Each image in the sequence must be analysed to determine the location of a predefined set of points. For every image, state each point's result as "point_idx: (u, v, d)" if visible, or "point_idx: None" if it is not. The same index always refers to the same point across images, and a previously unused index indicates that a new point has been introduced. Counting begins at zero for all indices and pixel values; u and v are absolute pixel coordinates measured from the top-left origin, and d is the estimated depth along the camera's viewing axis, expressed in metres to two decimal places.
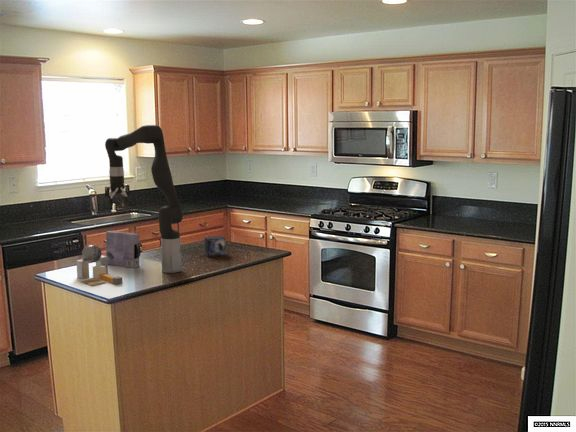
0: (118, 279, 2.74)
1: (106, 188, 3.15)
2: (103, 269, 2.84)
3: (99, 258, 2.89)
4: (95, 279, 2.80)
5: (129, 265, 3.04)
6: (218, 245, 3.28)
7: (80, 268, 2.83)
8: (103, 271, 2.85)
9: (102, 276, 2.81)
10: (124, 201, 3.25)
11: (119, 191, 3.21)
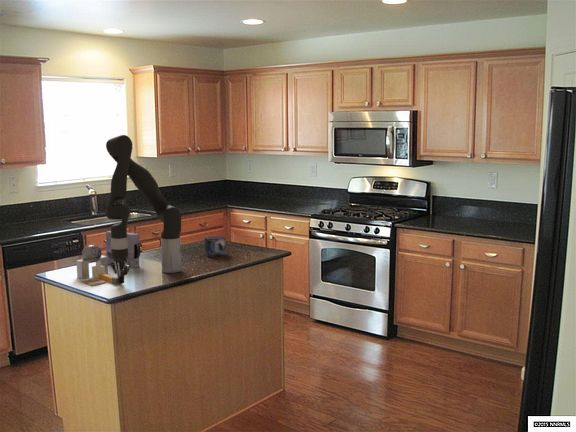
0: (117, 279, 2.74)
1: (128, 268, 2.69)
2: (102, 269, 2.85)
3: (99, 258, 2.89)
4: (95, 279, 2.80)
5: None
6: (218, 245, 3.28)
7: (80, 268, 2.83)
8: (102, 271, 2.85)
9: (101, 276, 2.82)
10: None
11: None
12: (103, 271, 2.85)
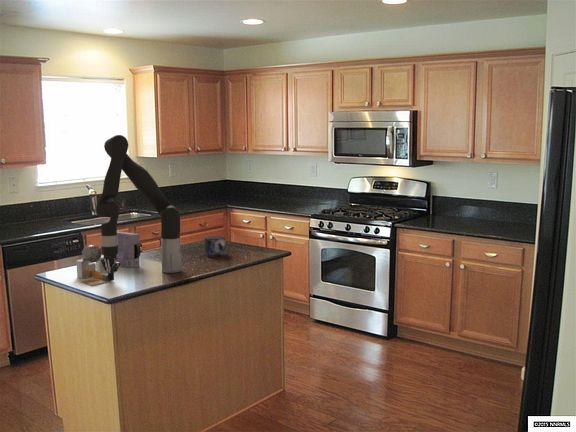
0: (107, 276, 2.79)
1: (118, 265, 2.74)
2: (93, 266, 2.90)
3: (99, 258, 2.89)
4: (95, 279, 2.80)
5: (129, 265, 3.04)
6: (218, 245, 3.28)
7: (80, 268, 2.83)
8: (93, 268, 2.90)
9: (92, 273, 2.87)
10: None
11: None
12: (94, 268, 2.90)
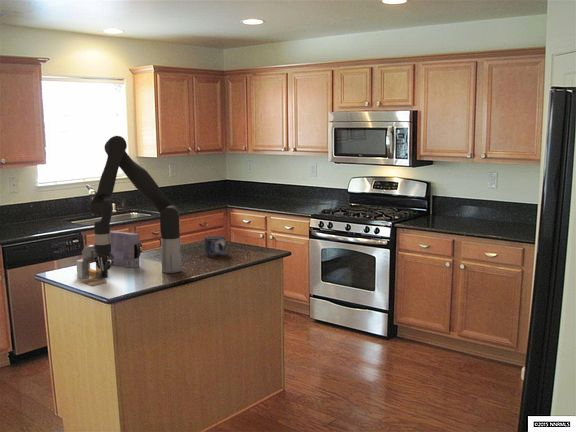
0: (100, 274, 2.83)
1: (110, 263, 2.77)
2: None
3: None
4: (95, 279, 2.80)
5: (129, 265, 3.04)
6: (218, 245, 3.28)
7: (80, 268, 2.83)
8: None
9: None
10: None
11: None
12: None
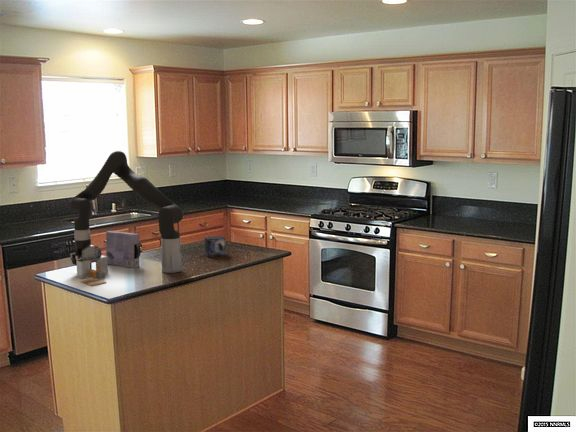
0: (100, 273, 2.83)
1: None
2: None
3: (99, 258, 2.89)
4: (95, 279, 2.80)
5: (129, 265, 3.04)
6: (218, 245, 3.28)
7: (80, 268, 2.83)
8: None
9: None
10: None
11: None
12: None
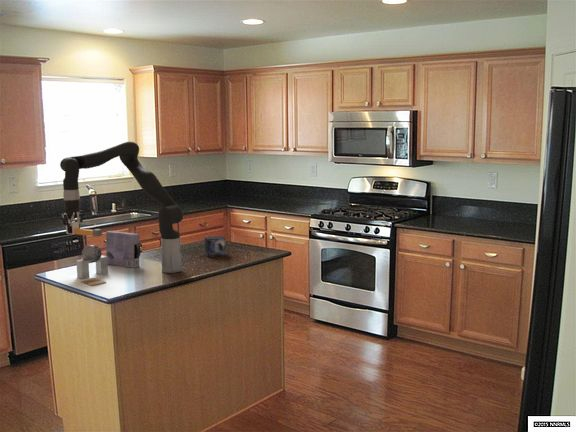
0: (99, 231, 2.86)
1: None
2: (77, 224, 2.93)
3: (99, 258, 2.89)
4: (95, 279, 2.80)
5: (129, 265, 3.04)
6: (218, 245, 3.28)
7: (80, 268, 2.83)
8: (77, 226, 2.93)
9: (78, 231, 2.91)
10: None
11: None
12: (77, 227, 2.94)
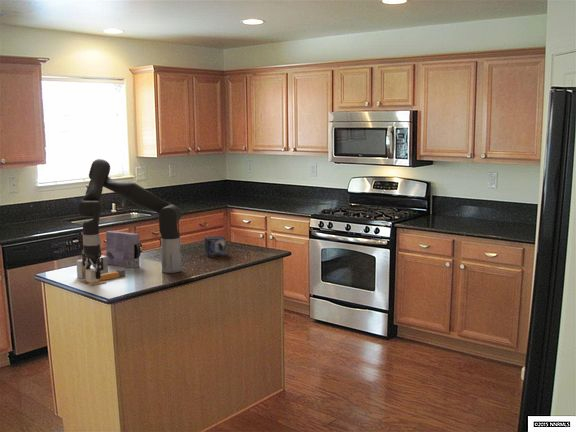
0: None
1: None
2: None
3: None
4: None
5: (129, 265, 3.04)
6: (218, 245, 3.28)
7: (80, 268, 2.83)
8: None
9: (102, 276, 2.79)
10: None
11: (91, 262, 2.74)
12: None
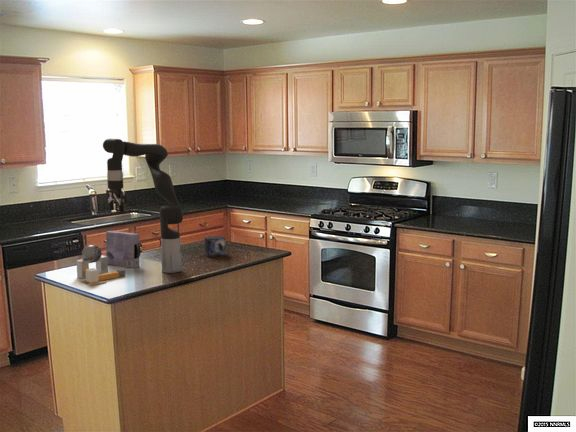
0: None
1: None
2: None
3: (99, 258, 2.89)
4: None
5: (129, 265, 3.04)
6: (218, 245, 3.28)
7: (80, 268, 2.83)
8: None
9: (102, 276, 2.79)
10: None
11: (114, 197, 2.93)
12: None
